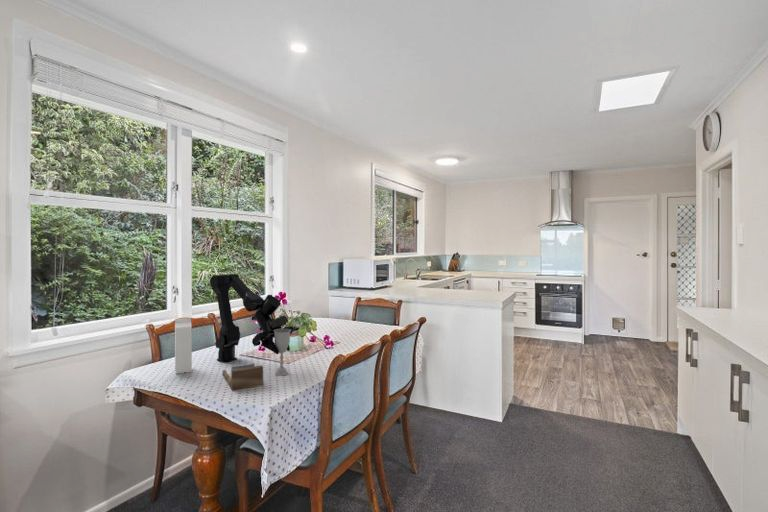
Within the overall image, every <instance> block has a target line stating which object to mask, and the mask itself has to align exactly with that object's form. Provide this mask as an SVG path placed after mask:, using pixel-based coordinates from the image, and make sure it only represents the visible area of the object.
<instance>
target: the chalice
mask: <svg viewBox="0 0 768 512" xmlns="http://www.w3.org/2000/svg"><path fill="white" fill-rule="evenodd" d="M273 331H274V333H275V336H274V338H273V341H274V343H275V345H276V347H277V349H278V351H279V354H280V355H279V360H280V361H279V364H280V366H279V367H278V368H276V371H275V373H274V374H275V376H278V377H283V376H287V375H288V373H289V372H288V371H287V368H286V367H284V358H285V357H284V353H286V351H287V350H286V349H287V348H288V345H289V346H290V343H291V342H290V341H291V337H290V336H291V335H290V332H291V330H290V329H284V327H283V328H281V329H275V330H273Z"/></svg>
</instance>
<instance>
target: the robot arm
mask: <svg viewBox="0 0 768 512" xmlns="http://www.w3.org/2000/svg"><path fill="white" fill-rule="evenodd" d="M209 284H210V287H211V290H212V291H213V292H214V294H215V295H216V299H217V305H218V311H219V312H218V313H219V316H220V321H221V322H220V324H221V327H220V329H219V337H218V338H217V340H215V342H214V346H215V348H216V349H218V352H217V353H218V356H217V357H218V358H217V359H216V361H218V362H223V363H228V362H231V361H235V360H238V357H236V346H238V345H239V342H240V340H241V332H240V327H239V326H237V325H236V324H235V323H234V319H233V313H232V307H231V302H230V295H229V292H230V289H231V288H232V289H233V290H234V291H235V292H236V294H237V295H238V296H239V297H240V298H241V299H242V305H243V307H244V308H245V310H246V311H247V312H255V313H252V316H251V321H256V322H257V324H258V325H259V329H258V330H259V331H260V332H257V333H256V335H255V336H254V337H253V338H252V340H251V343H252V344H253V346H254V347H257V346H260V347H263V348H265V349H268V350H269V351H271V352H273V353H274V354H276V355H279V354H280V353H279V351H278V349H277V347H276V345H275V342H274V336H275V333H274V331H273V330H275V329H281V328H282V327H283V326H284V327H283V328H284V329H290V330H291V332H290V336H291V335H292V333H294V331H295V328H294V326H293V325H287V323H289V319H288V317H287V316H286V315H281V316H280V317H278V318H272V315H274V314H275V312H277V310H278V309H279V307H280V306H281V301H280V299H278V298H277V297H276V296H273V294H268V295H267V296H266V297H265V299H264V298H263V297H262V296H260V294H257V293H255V292H253V291H251V289H250V288H249V287H248V286H247V285H246V284H245V283H244V282H243V280H241V278H240V276H239V274H237V273H228V274H227V273H225V274H214V275H212V276H211V278H210V279H209ZM290 350H291V347H290V344H289V345H288V348H287V349H286V351H288V352H289V351H290Z"/></svg>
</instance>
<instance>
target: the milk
mask: <svg viewBox="0 0 768 512" xmlns="http://www.w3.org/2000/svg"><path fill="white" fill-rule="evenodd" d="M174 322H175V323H174V373H175V374H176V373H178V374H183V373H184V372H186V373H191V372H192V371H193V369H192V367H193V363H192V359H193V357H192V356H193V355H192V347H193V346H192V344H193V343H192V342H193V341H192V339H193V338H192V337H193V336H192V334H193V333H192V329H193V328H192V317H184V318H175V320H174Z"/></svg>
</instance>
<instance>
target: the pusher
mask: <svg viewBox="0 0 768 512" xmlns="http://www.w3.org/2000/svg"><path fill="white" fill-rule="evenodd" d="M248 367H255V363H248V364H247V363H246V364H240V365H239V364H238V365H232V366H231V370H234V369H241V368H248ZM231 370H230V371H231Z"/></svg>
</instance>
